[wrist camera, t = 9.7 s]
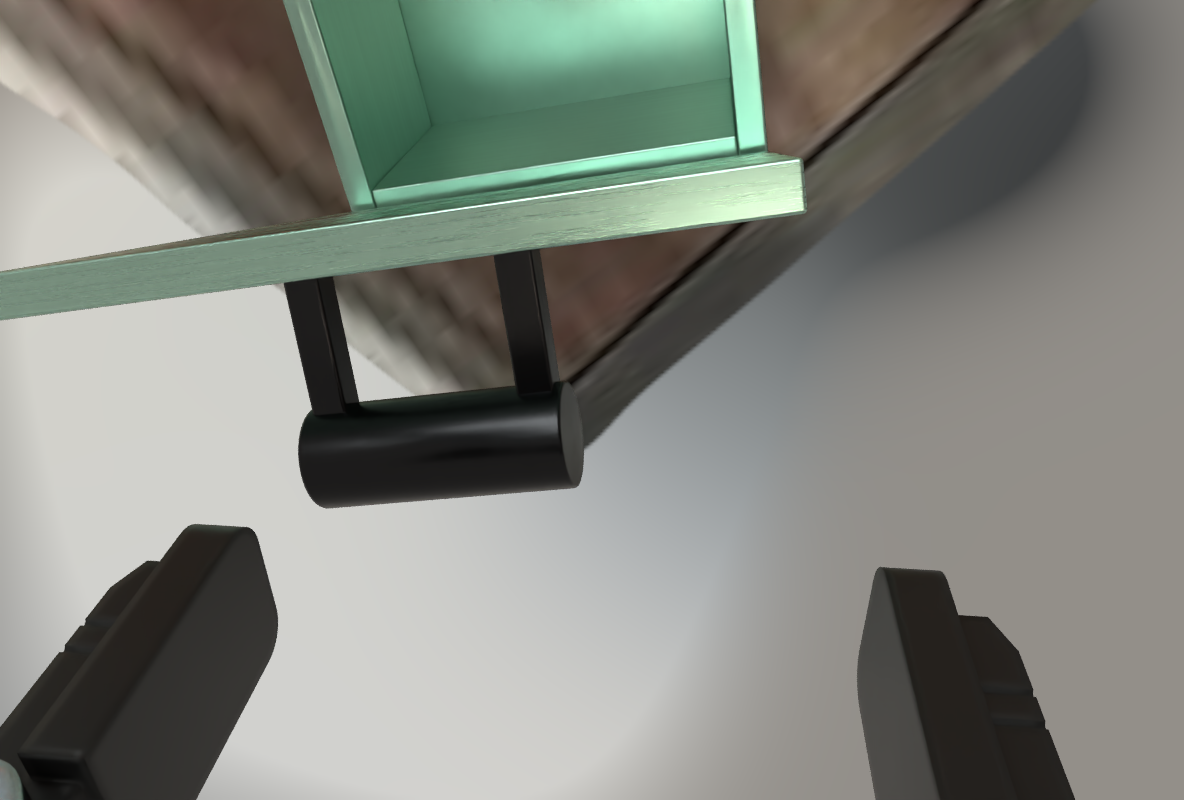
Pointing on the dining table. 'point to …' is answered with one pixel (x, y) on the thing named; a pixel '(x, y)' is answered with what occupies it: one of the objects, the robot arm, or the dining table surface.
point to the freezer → (526, 90)
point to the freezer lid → (415, 237)
